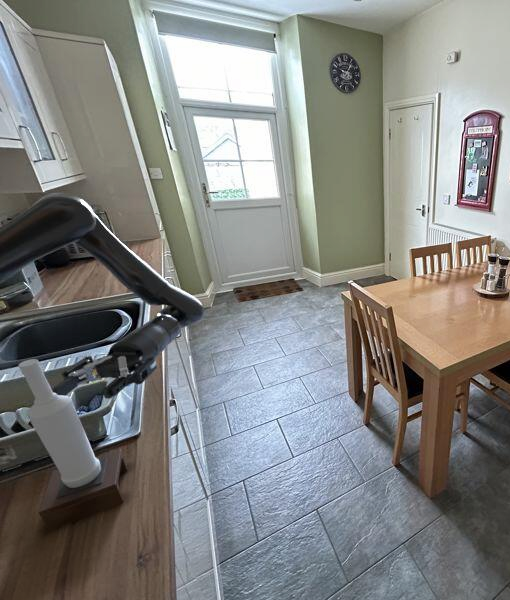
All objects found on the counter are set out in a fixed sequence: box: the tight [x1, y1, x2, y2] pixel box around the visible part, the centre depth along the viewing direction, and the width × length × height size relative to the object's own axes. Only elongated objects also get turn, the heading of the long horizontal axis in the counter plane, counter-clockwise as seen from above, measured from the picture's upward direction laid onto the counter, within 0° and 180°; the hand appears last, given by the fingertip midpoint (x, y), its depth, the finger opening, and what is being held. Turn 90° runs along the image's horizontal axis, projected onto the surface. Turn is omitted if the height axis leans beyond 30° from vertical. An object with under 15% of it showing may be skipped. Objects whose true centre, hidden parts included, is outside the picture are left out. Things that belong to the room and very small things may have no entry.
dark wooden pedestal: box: [37, 448, 129, 531], centre depth 61 cm, size 10×9×5 cm
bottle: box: [18, 358, 101, 488], centre depth 55 cm, size 5×5×25 cm
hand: (81, 394), depth 59 cm, fingers open, 8 cm apart
